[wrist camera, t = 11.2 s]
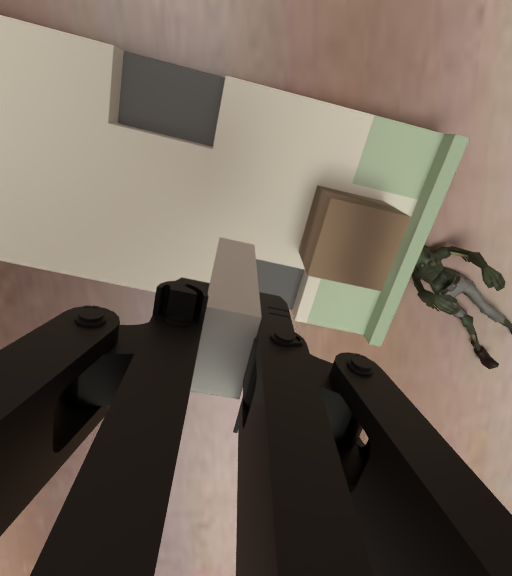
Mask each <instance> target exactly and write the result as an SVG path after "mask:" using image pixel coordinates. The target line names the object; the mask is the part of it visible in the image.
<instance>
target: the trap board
mask: <svg viewBox="0 0 512 576" xmlns="http://www.w3.org/2000/svg"><path fill="white" fill-rule="evenodd" d="M469 139H470V138H467V137H463V136H459V135H456V134H443V133H439V132H436V131H432V130H428V129H424V128H421V127H417V126H413V125H409V124H406V123H402V122H398V121H394V120H391V119H387V118H383V117H380V116H376V115H372V114H368V113H365V112H361V111H357V110H353V109H350V108H346V107H342V106H338V105H335V104H331V103H327V102H324V101H320V100H316V99H312V98H309V97H305V96H301V95H297V94H294V93H290V92H286V91H282V90H279V89H275V88H271V87H268V86H264V85H260V84H256V83H253V82H249V81H245V80H241V79H238V78H234V77H230V76H227V75H226V77H225V78H223V77H219V76H215V75H212V74H208V73H204V72H200V71H197V70H193V69H189V68H185V67H182V66H178V65H174V64H170V63H167V62H163V61H159V60H155V59H152V58H148V57H144V56H140V55H137V54H133V53H129V52H125V51H123V50H121V49H119V48H118V47H116V46H114V45H111V44H107V43H103V42H100V41H96V40H92V39H88V38H85V37H81V36H77V35H74V34H70V33H66V32H62V31H59V30H55V29H51V28H47V27H44V26H40V25H36V24H32V23H29V22H25V21H21V20H18V19H14V18H10V17H6V16H3V15H0V261H4V262H9V263H14V264H19V265H23V266H28V267H33V268H38V269H43V270H48V271H53V272H58V273H63V274H68V275H73V276H78V277H82V278H87V279H92V280H97V281H102V282H107V283H112V284H117V285H122V286H127V287H132V288H136V289H141V290H146V291H151V292H156V288H157V286H158V285H159V284H160V283H163V282H167V281H176V280H178V279H180V278H181V277H182V278H187V279H192V280H197V281H202V282H207V283H210V280H211V275H212V271H213V266H214V261H215V256H216V252H217V247H218V242H219V237H221V238H226V239H230V240H235V241H240V242H244V243H249V244H253V245H255V255H256V265H257V276H258V286H259V292H262V293H267V294H272V295H277V296H280V297H281V298H282V299H283V300H284V301H285V302H286V303H287V304H288V308H289V309H291V310H292V311H293V315H294V320H295V321H299V322H303V323H308V324H313V325H318V326H323V327H328V328H333V329H338V330H343V331H348V332H353V333H357V334H362V335H364V336H365V338H366V340H367V342H368V344H369V345H374V346H379V347H381V345H382V342H383V340H384V338H385V335H386V333H387V331H388V328H389V326H390V324H391V321H392V319H393V317H394V314H395V312H396V310H397V307H398V305H399V303H400V300H401V298H402V296H403V293H404V291H405V289H406V286H407V284H408V282H409V279H410V277H411V275H412V272H413V270H414V268H415V265H416V263H417V261H418V258H419V256H420V254H421V251H422V249H423V247H424V244H425V242H426V240H427V237H428V235H429V233H430V230H431V228H432V226H433V223H434V221H435V219H436V216H437V214H438V212H439V209H440V207H441V205H442V202H443V200H444V198H445V195H446V193H447V191H448V188H449V186H450V184H451V181H452V179H453V177H454V174H455V172H456V170H457V167H458V165H459V163H460V160H461V158H462V156H463V153H464V151H465V149H466V146H467V144H468V141H469ZM317 185H318V186H322V187H327V188H331V189H335V190H339V191H343V192H348V193H352V194H356V195H360V196H364V197H369V198H373V199H377V200H381V201H385V202H386V203H388V204H390V205H391V206H393V207H395V208H397V209H398V210H400V211H402V212H403V213H405V214H407V215H409V216H410V217H411V218H410V220H409V223H408V225H407V228H406V230H405V233H404V235H403V238H402V241H401V243H400V246H399V248H398V251H397V253H396V256H395V258H394V261H393V263H392V266H391V268H390V271H389V273H388V276H387V278H386V281H385V284H384V286H383V289H382V291H378V290H373V289H368V288H363V287H359V286H354V285H349V284H344V283H340V282H335V281H330V280H326V279H321V278H316V277H311V276H307V273H306V270H305V268H304V265H303V262H302V260H301V257H300V254H299V252H298V251H299V247H300V244H301V240H302V237H303V233H304V230H305V226H306V223H307V219H308V216H309V212H310V209H311V205H312V202H313V198H314V195H315V191H316V188H317Z"/></svg>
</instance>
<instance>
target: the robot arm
mask: <svg viewBox="0 0 512 576" xmlns="http://www.w3.org/2000/svg"><path fill="white" fill-rule="evenodd" d="M290 317H291V316H290V312H289V308H288V304H287V303H286V302H285V301H284V300H283V299H282V298H281V297H280V296H277V295H272V294H267V293H262V292H259V286H258V276H257V265H256V255H255V245H253V244H249V243H244V242H240V241H235V240H230V239H226V238H221V237H219V242H218V247H217V252H216V256H215V261H214V266H213V271H212V275H211V280H210V283H207V282H202V281H197V280H192V279H187V278H182V277H181V278H180V279H178V280H176V281H167V282H163V283H160V284H159V285H158V286H157V288H156V295H155V302H154V309H153V315H152V318H151V320H150V322H148V323H145V324H140V325H119V324H120V321H119V317H118V316H117V315H116V314H115V313H114V312H113V311H110V310H108V309H106V308H101V307H98V306H83V307H76V308H72V309H70V310H67V311H65V312H63V313H62V314H60V315H58V316H57V317H55V318H53V319H52V320H50V321H48V322H47V323H45V324H43V325H42V326H40V327H38V328H36V329H35V330H33V331H31V332H30V333H28V334H26V335H25V336H23V337H21V338H20V339H18V340H16V341H15V342H13V343H11V344H10V345H8V346H6V347H4V348H3V349H1V350H0V536H1V535H2V534H3V533H4V532H5V530H6V529H7V528H8V527H9V526H10V525H11V523H12V522H13V521H14V520H15V519H16V518H17V517H18V515H19V514H20V513H21V512H22V511H23V510H24V509H25V507H26V506H27V505H28V504H29V503H30V502H31V501H32V499H33V498H34V497H35V496H36V495H37V494H38V493H39V491H40V490H41V489H42V488H43V487H44V486H45V484H46V483H47V482H48V481H49V480H50V479H51V478H52V476H53V475H54V474H55V473H56V472H57V471H58V470H59V468H60V467H61V466H62V465H63V464H64V463H65V462H66V460H67V459H68V458H69V457H70V456H71V455H72V453H73V452H74V451H75V450H76V449H77V448H78V447H79V445H80V444H81V443H82V442H83V441H84V440H85V439H86V437H87V436H88V435H89V434H90V433H91V432H92V431H93V429H94V428H95V427H96V426H97V425H98V424H99V422H100V421H101V420H102V419H103V418H104V420H103V422H102V424H101V426H100V428H99V430H98V432H97V434H96V437H95V439H94V441H93V443H92V445H91V447H90V449H89V451H88V454H87V456H86V458H85V460H84V462H83V464H82V466H81V468H80V471H79V473H78V475H77V477H76V479H75V481H74V483H73V485H72V488H71V490H70V492H69V494H68V496H67V498H66V500H65V502H64V505H63V507H62V509H61V511H60V513H59V515H58V517H57V519H56V522H55V524H54V526H53V528H52V530H51V532H50V534H49V536H48V539H47V541H46V543H45V545H44V547H43V549H42V551H41V553H40V556H39V558H38V560H37V562H36V564H35V566H34V568H33V570H32V573H31V575H30V576H154V574H155V568H156V563H157V558H158V553H159V548H160V543H161V538H162V533H163V527H164V522H165V517H166V512H167V507H168V502H169V497H170V491H171V486H172V481H173V476H174V471H175V466H176V461H177V456H178V450H179V445H180V440H181V435H182V430H183V425H184V420H185V414H186V409H187V404H188V399H189V394H190V391H193V392H199V393H205V394H211V395H217V396H223V397H229V398H235V399H240V395H241V392H242V388H243V398H242V402H241V405H240V409H239V413H238V416H237V420H236V424H235V427H234V431H233V432H235V433H237V432H238V429H239V434H238V491H237V547H236V576H512V515H511V514H510V512H509V511H508V510H507V509H506V508H505V507H504V506H503V505H502V503H501V502H500V501H499V500H498V499H497V498H496V497H495V496H494V495H493V493H492V492H491V491H490V490H489V489H488V488H487V487H486V486H485V484H484V483H483V482H482V481H481V480H480V479H479V478H478V477H477V475H476V474H475V473H474V472H473V471H472V470H471V469H470V468H469V466H468V465H467V464H466V463H465V462H464V461H463V460H462V459H461V457H460V456H459V455H458V454H457V453H456V452H455V451H454V450H453V448H452V447H451V446H450V445H449V444H448V443H447V442H446V441H445V439H444V438H443V437H442V436H441V435H440V434H439V433H438V432H437V430H436V429H435V428H434V427H433V426H432V425H431V424H430V423H429V421H428V420H427V419H426V418H425V417H424V416H423V415H422V414H421V413H420V411H419V410H418V409H417V408H416V407H415V406H414V405H413V404H412V402H411V401H410V400H409V399H408V398H407V397H406V396H405V395H404V393H403V392H402V391H401V390H400V389H399V388H398V387H397V386H396V384H395V383H394V382H393V381H392V380H391V379H390V378H389V377H388V375H387V374H386V373H385V372H384V371H383V370H382V369H381V368H380V367H379V366H378V365H377V364H376V363H375V362H373V361H371V360H370V359H368V358H367V357H365V356H363V355H362V356H361V355H360V354H356V353H355V354H354V353H348V352H347V353H340V354H338V355H337V356H336V357H335V360H334V363H330V362H327V361H325V360H322V359H319V358H317V357H315V356H313V355H311V354H310V353H309V350H308V346H307V343H306V342H305V340H304V339H303V338H302V337H301V336H300V335H298V334H297V333H295V332H294V328H293V324H292V320H291V318H290ZM362 429H363V430H364V431H365V433H366V434H367V436H368V438H369V439H368V442H367V443H366V445H365V444H364V443H363V442H362V440H361V439H360V437H359V436H360V433H361V431H362Z"/></svg>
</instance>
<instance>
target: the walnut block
mask: <svg viewBox="0 0 512 576" xmlns="http://www.w3.org/2000/svg"><path fill="white" fill-rule="evenodd" d="M410 218H411V217H410V216H409V215H407V214H405V213H403V212H402V211H400V210H398V209H397V208H395V207H393V206H391V205H390V204H388V203H386V202H385V201H381V200H377V199H373V198H369V197H364V196H360V195H356V194H352V193H348V192H343V191H339V190H335V189H331V188H327V187H322V186H318V185H317V188H316V191H315V195H314V198H313V202H312V205H311V209H310V212H309V216H308V219H307V223H306V226H305V230H304V233H303V237H302V240H301V244H300V247H299V251H298V252H299V254H300V257H301V260H302V262H303V265H304V268H305V270H306V273H307V276H311V277H316V278H321V279H326V280H330V281H335V282H340V283H344V284H349V285H354V286H359V287H363V288H368V289H373V290H378V291H382V289H383V286H384V284H385V281H386V278H387V276H388V273H389V271H390V268H391V266H392V263H393V261H394V258H395V256H396V253H397V251H398V248H399V246H400V243H401V241H402V238H403V235H404V233H405V230H406V228H407V225H408V223H409V220H410Z"/></svg>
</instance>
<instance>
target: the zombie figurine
mask: <svg viewBox="0 0 512 576" xmlns="http://www.w3.org/2000/svg"><path fill="white" fill-rule="evenodd" d="M451 254H454V255H458V256H461V257H462V258H463V259H464V260H465V261H467V260H468V262H472V263H473V264H475V265H476V266H478V267H480V268H481V269H482V276H483V281H484V282H485V284H486V285H487V287H488V288H491V287H493V286H494V287H495V289H496V290H497V291H499V290H501V289H503V288H504V286H505V280H504V279H503V277H502V275H501V273H499V272H498V271H496V270H495V269H493V268H491V267H490V266H488V264H487V263H486V261H485V260H484V258H483V257H482V256H481V254H480V253H479V252H471V251H467V250H464V249H460V248H457V247H453V246H451V247H441V248H440V249H438V250H436V251H434V252H431V251H430V249H429V248H428V247H427V246H425V245H424V247H423V249H422V251H421V254H420V256H419V258H418V261H417V263H416V265H415V268H417V269H416V270H415V271H414V272H413V274H412V278H413V282H414V285H415V287H416V289H417V290H418V292H419V293H418V294H417V295H418V296H419V297H420V299H421V300H422V301H423V302H425V303H426V305H427V306H429V307H432V308H433V309H434V308H435V309H436V310H437V311H439V310H441V311H443V312H446V313H448V314H450V315H451V314H453V315H454V316H455V317H459V318H460V319H461V320H462V323H463V326H464V327H466V328H467V331H468V333H469V334H470V335H471V336H472V338H473V339H472V341H471V344H472V345H473V347H474V346H475V348H474V351H475V353H476V355H477V356H478V357H479V358H480V361H481V363H482V364H483V365H484V366H485V367H487V368H488V369H492V368H496V367H498V365H499V364H498V363H497V362H496V361H495V360H494V359H493V358H492V357H490V355H489V354H488V352H487V351H486V350H485V348H484V347H480V345H479V342H478V339H477V334H476V331H475V329H474V326H473V317H471V316H469V315H467V313H466V311H465V310H464V309H463V308H461V307H460V306H459V305H458V303H457V300H456V299H455V297H456V296H457V295H458V294H460V293H464V294H465V295H466V296H468V297H469V298H470V299H471V300H472V301H473V302H474V303H475V304H476V305H477V306H478V308H479V309H480V311H481V312H482V313H484V314H485V315H487V316H488V317H489V318H491V319H492V320H494V321H495V322H499V323H501V324H502V325H504V326H506V327H508V328H509V329H511V334H512V324H511V323H510V322H509V321H508V320H507V319H506V317H505V316H504V315H502V314H501V313H500V312H498V311H496V310H495V309H494V308H493V307H492V306H491V305H489V304H487V303H486V301H485V300H484V298H483V297H482V295H481V293H480V292H479V290H478V289H477V288H476V286H475V285H474V283H473V281H471V280H469V279H468V278H466V277H464V276H463V275H461V274H459V273H457V272H456V271H453V270H450V269H446V268H444V267H443V265H442V263H441V260H442V259H444V258H447V257H449V256H450V255H451ZM465 258H466V259H467V260H466V259H465ZM420 279H423V280H424V281H425V282H427V283H429V284H431V286H432V289H433V291H434V293H435V294H436V295H435V294H433V293H432V292H430V291H427V290H425V289H424V287H423V285H422V283H421V281H420ZM433 304H434V305H435V306H436V307H435V306H434V305H433ZM437 308H438V309H439V310H438V309H437Z"/></svg>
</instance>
